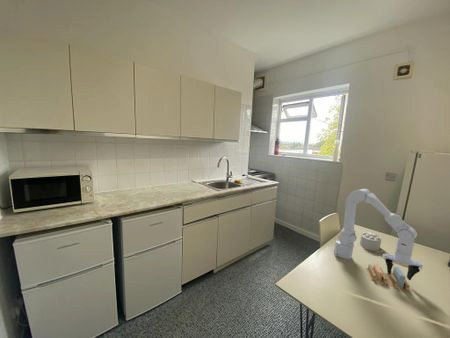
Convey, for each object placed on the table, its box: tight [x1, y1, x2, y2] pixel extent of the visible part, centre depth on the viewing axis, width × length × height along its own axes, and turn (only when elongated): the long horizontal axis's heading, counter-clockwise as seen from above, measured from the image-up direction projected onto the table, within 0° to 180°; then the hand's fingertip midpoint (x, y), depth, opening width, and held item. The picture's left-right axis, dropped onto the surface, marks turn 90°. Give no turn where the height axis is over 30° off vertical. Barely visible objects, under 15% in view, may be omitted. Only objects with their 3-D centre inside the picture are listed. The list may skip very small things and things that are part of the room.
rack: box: [365, 264, 413, 294], centre depth 95 cm, size 16×11×4 cm
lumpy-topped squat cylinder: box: [359, 231, 382, 252], centre depth 128 cm, size 10×13×9 cm
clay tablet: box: [387, 253, 408, 269], centre depth 112 cm, size 14×10×3 cm
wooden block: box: [372, 263, 383, 281], centre depth 97 cm, size 2×7×4 cm, turn 154°
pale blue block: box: [392, 265, 407, 288], centre depth 93 cm, size 2×8×6 cm, turn 154°
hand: (398, 275), depth 93 cm, fingers open, 7 cm apart
